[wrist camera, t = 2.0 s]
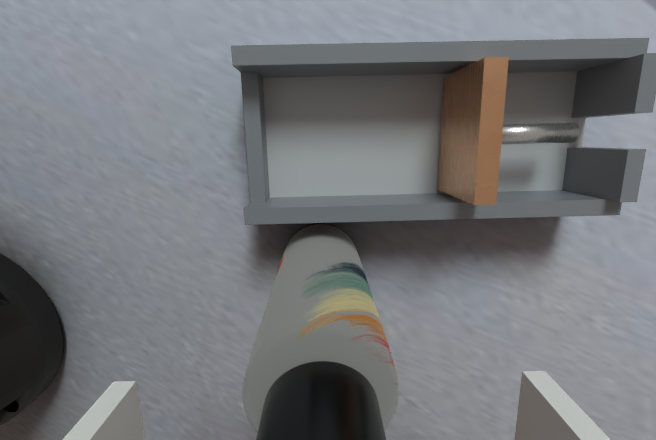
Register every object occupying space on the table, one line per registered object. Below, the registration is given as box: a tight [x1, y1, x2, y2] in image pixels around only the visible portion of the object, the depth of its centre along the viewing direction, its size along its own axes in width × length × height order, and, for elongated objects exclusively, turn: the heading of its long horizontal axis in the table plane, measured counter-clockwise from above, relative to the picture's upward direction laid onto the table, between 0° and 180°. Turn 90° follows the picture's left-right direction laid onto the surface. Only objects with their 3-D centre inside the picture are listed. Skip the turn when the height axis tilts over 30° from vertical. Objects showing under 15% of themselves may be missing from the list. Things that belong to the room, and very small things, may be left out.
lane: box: [231, 38, 656, 225], centre depth 22 cm, size 23×10×6 cm, turn 91°
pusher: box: [438, 57, 580, 205], centre depth 21 cm, size 7×7×6 cm
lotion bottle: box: [243, 224, 399, 440], centre depth 17 cm, size 6×6×20 cm
